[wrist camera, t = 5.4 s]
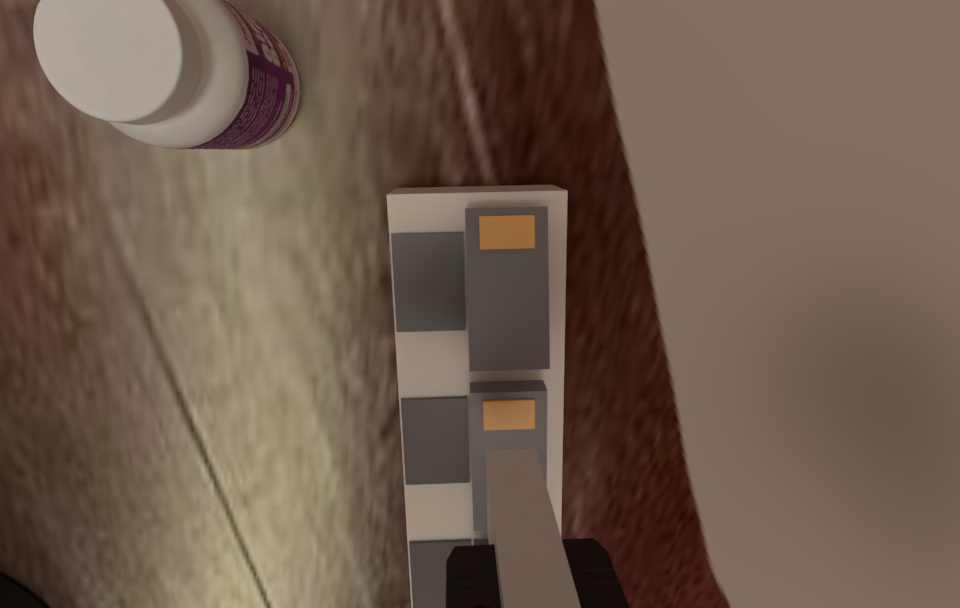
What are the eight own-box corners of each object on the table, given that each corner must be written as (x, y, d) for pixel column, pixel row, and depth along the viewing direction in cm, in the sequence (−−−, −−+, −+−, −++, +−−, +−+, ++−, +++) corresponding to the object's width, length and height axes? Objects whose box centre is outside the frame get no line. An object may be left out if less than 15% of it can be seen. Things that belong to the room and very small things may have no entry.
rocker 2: (473, 513, 25) (473, 532, 24) (469, 382, 24) (470, 394, 22) (542, 511, 25) (547, 530, 24) (543, 379, 24) (548, 392, 22)
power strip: (419, 580, 32) (412, 652, 27) (397, 187, 26) (384, 195, 22) (547, 575, 32) (561, 646, 27) (551, 184, 26) (570, 191, 22)
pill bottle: (321, 52, 25) (237, -6, 15) (278, 169, 26) (176, 180, 17) (198, -7, 24) (31, -107, 15) (159, 115, 25) (-17, 95, 16)
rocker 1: (469, 365, 23) (469, 372, 21) (465, 210, 22) (465, 208, 21) (545, 363, 23) (550, 369, 22) (543, 208, 22) (548, 206, 21)
